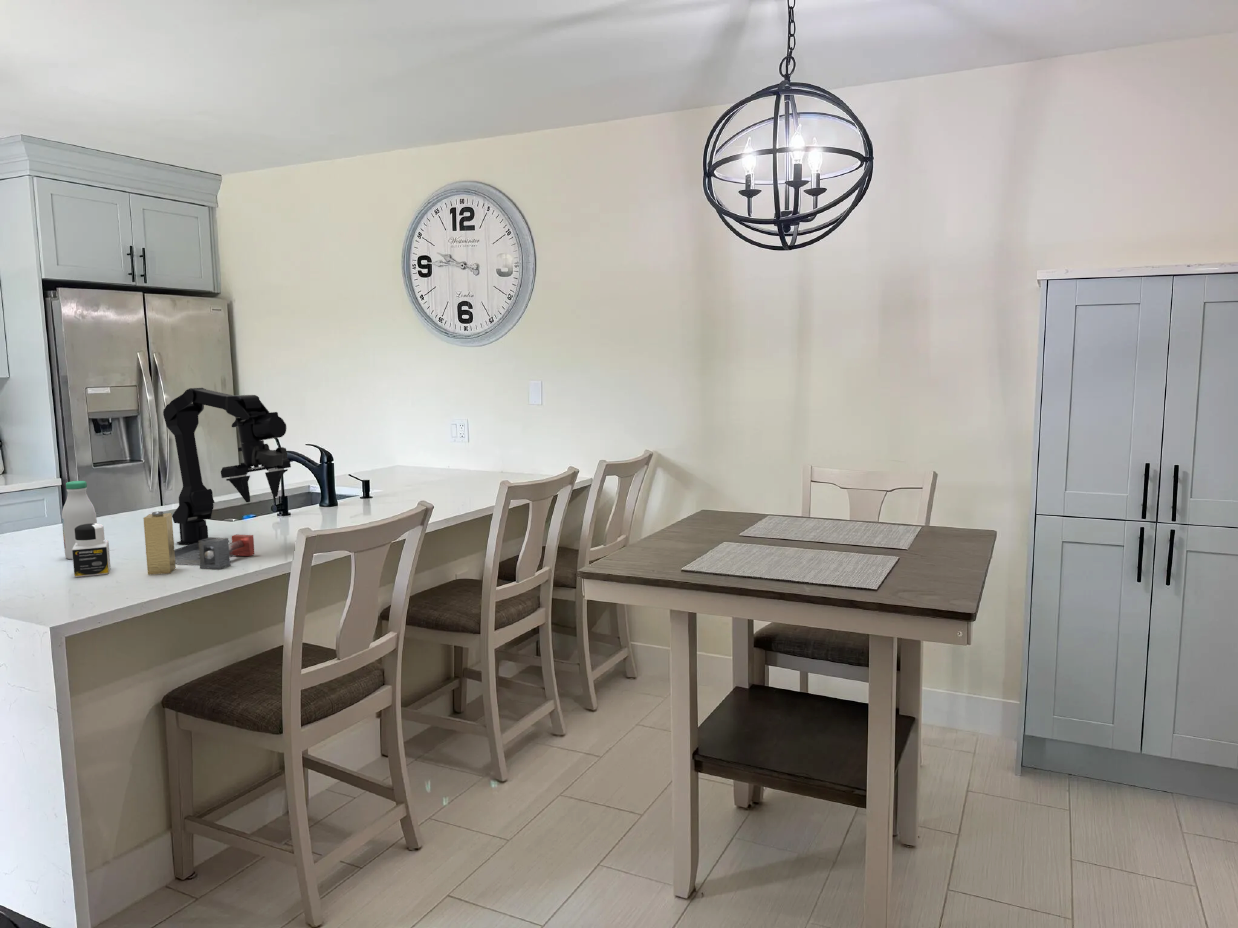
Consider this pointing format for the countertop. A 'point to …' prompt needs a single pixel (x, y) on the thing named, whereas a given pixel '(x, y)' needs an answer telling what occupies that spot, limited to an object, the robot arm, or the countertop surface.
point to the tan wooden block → (159, 543)
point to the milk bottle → (76, 513)
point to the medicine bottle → (90, 551)
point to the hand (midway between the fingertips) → (262, 499)
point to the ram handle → (237, 546)
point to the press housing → (219, 550)
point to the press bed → (189, 555)
